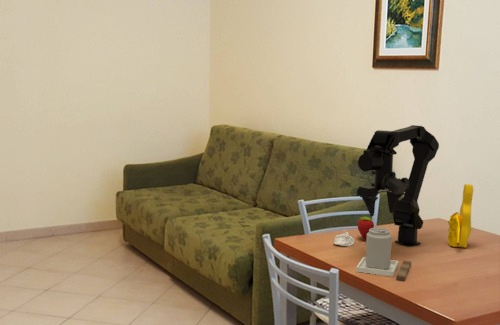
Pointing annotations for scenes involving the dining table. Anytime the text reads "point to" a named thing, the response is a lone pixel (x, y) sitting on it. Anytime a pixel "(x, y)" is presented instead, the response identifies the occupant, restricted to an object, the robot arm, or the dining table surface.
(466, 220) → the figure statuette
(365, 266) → the tray
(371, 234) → the can
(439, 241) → the dining table surface
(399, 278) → the strip
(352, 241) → the whipped cream
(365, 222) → the strawberry
